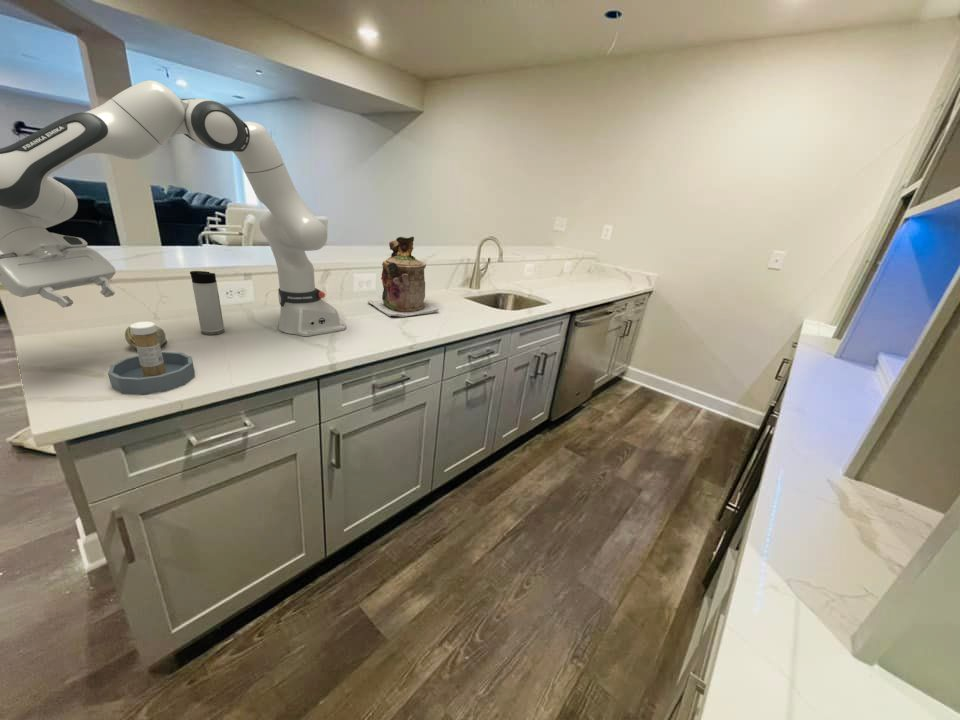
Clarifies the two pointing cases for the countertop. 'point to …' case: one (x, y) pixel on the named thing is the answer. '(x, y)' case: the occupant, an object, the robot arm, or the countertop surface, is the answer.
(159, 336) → the seashell
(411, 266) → the cookie jar
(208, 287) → the travel mug
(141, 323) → the sprinkles bottle
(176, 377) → the slate bowl
